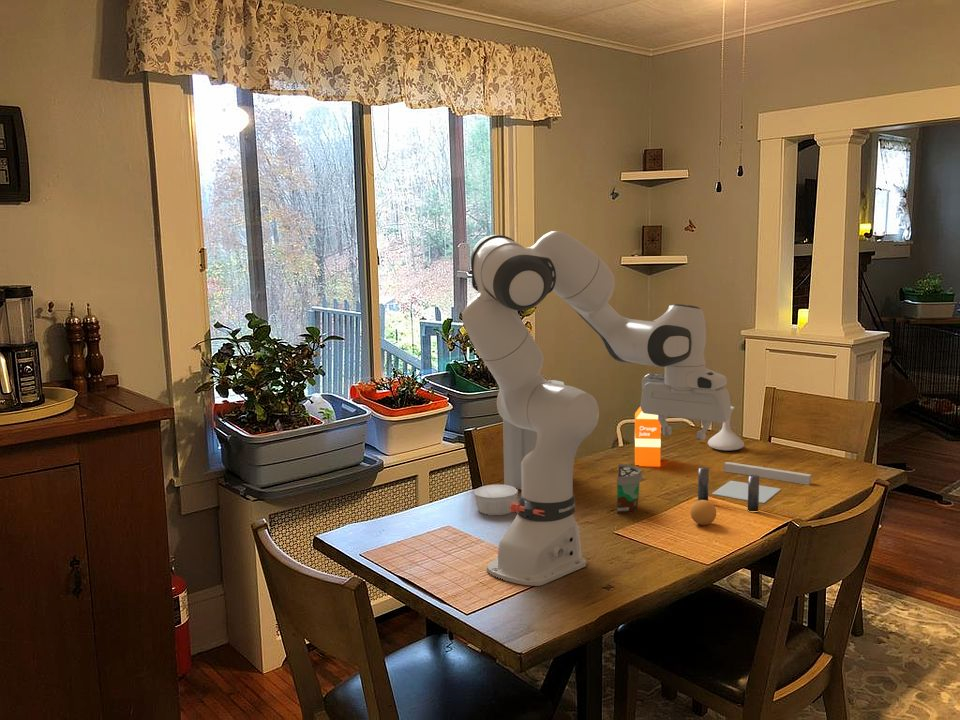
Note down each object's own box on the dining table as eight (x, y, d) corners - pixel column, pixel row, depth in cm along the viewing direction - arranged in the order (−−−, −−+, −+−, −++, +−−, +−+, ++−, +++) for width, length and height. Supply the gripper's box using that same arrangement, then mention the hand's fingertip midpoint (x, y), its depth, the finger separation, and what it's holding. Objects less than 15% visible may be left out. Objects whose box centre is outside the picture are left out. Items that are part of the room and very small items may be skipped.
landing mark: (763, 503, 209) (764, 502, 209) (711, 494, 217) (711, 493, 217) (781, 489, 220) (781, 488, 220) (730, 481, 228) (730, 480, 228)
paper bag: (536, 497, 218) (534, 395, 214) (503, 484, 230) (501, 388, 226) (588, 484, 229) (588, 386, 225) (554, 472, 241) (553, 379, 237)
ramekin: (465, 510, 209) (465, 491, 209) (495, 500, 217) (495, 481, 216) (497, 520, 202) (496, 500, 201) (526, 509, 209) (526, 489, 209)
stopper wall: (808, 485, 223) (809, 476, 223) (723, 471, 238) (724, 463, 237) (810, 483, 225) (811, 474, 224) (726, 469, 239) (726, 461, 239)
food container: (642, 516, 201) (642, 478, 200) (617, 515, 203) (617, 477, 201) (642, 501, 213) (642, 464, 212) (618, 500, 215) (618, 463, 213)
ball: (710, 530, 191) (710, 506, 190) (686, 525, 195) (686, 501, 194) (719, 523, 196) (720, 499, 195) (696, 518, 199) (696, 495, 198)
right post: (756, 513, 202) (757, 478, 201) (746, 511, 204) (746, 476, 202) (759, 510, 204) (760, 475, 203) (749, 508, 206) (750, 474, 204)
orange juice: (634, 465, 246) (634, 401, 243) (634, 458, 254) (634, 395, 251) (661, 466, 244) (661, 401, 241) (659, 458, 253) (660, 395, 250)
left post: (705, 503, 210) (706, 470, 208) (696, 502, 211) (696, 468, 210) (709, 501, 212) (710, 467, 211) (700, 499, 213) (700, 466, 212)
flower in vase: (720, 442, 270) (722, 368, 267) (751, 448, 262) (753, 372, 258) (697, 449, 262) (698, 373, 258) (728, 456, 253) (730, 377, 250)
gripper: (635, 374, 184) (635, 433, 186) (723, 382, 172) (722, 446, 174) (648, 370, 189) (647, 428, 191) (734, 378, 176) (732, 439, 179)
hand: (683, 436), depth 182 cm, fingers open, 7 cm apart
